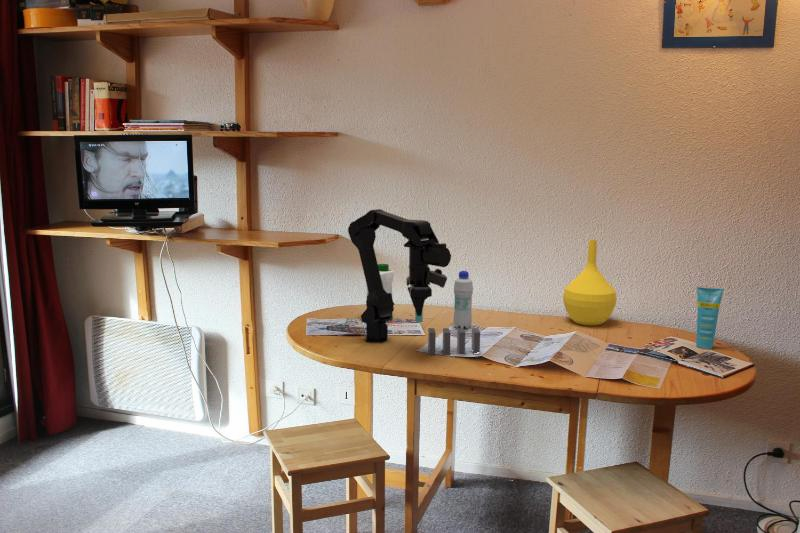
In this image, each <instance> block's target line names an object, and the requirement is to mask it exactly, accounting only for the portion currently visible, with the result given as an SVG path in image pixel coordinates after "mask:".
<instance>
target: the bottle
mask: <svg viewBox="0 0 800 533" xmlns="http://www.w3.org/2000/svg"><path fill="white" fill-rule="evenodd" d="M469 275H470V274H469V271H467V270H461V271H459V272H458V278H455V280H454V284H453V294H454V304H453V305H454V312H453V325H454V327H455V328H456V329H457V328H463V329H464V328H465V329H466V330H467V329H469V328H471V327H472V323H473V320H472V319H473V315H472V307H473V306H472V303H473V302H472V300H473V299H472V298H473V294H474V286H473V279H470V278H469Z"/></svg>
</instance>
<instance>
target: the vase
mask: <svg viewBox="0 0 800 533" xmlns="http://www.w3.org/2000/svg"><path fill="white" fill-rule="evenodd" d="M597 242H598V240H597V239H595V238H594V239H592V238H591V239H588V246H587V247H588V250H587V260H586V261H587V262H586V265H585V267H584V268H583V270H582V271H581V272H580V273H579V274H578V275H577V276H576V277H575V278H574V279H573V280H571V282H570V283H568V284H567V285H566V286H565V288H564V291H563V295H562V301H563V304H564V308H565V311H566V313H567V315H568V317H570V319H571V320H572V321H573V322H574V323H576V324H578V325H583V326H591V327H592V326H600V325H603V323H605V322H607V320H609V318H610V317H611V316H612V314H613V311H614V309H615V308H616V304H617V292H616V289H615V288H614V287H613V286H612V285H611V284H610V283H609V282H608V280H606V278H605V277H604V275H602V273H601V272H600V271H599V269H598V267H597V248H598V246H597Z"/></svg>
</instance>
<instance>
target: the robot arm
mask: <svg viewBox="0 0 800 533" xmlns="http://www.w3.org/2000/svg"><path fill="white" fill-rule="evenodd" d="M381 226H383V227H385V228H388V229H391V230H393V231H397V232H399V233H401V235H402V237H403V238H404V239H407V240H408V241H406V242H405V243H404V244H403V247H404V248H408V249H409V250H408V251H409V252H408V254H409V256H408V261H409V262H408V276H407V277H406V281H405V282H406V286H408V287H407V291H408V294H409V297H410V300H411V302H412V306H413V307H414V309H415V310H416V313H417V316H421V314H422V310H424V304H425V301H426V300H427V299H428V298H430V297H432V296H433V290H432V287H431V286H430V285H431V284H433V285H435V286H438V287H440V288H442V289H444V288H445V286H446V283H447V280H448V277H447V276H446V274H443V271H442V269H440V268H446V267H447V266H448V265H449V264H450V263H451V259H452V254H451V251H450V250H449V248H448V247H447V244H446V243H442V242H441V243H440V241H439V240H438V238H437V236H436V233H435V232H434V230H433V228H432V226H431V223H430V222H429V221H428V220H424V219H423V220H422V219H409V218H405V217H402V216H399V215H396V214H394V213H391V212H388V211H385V210H383V209H380V208H378V209H370V210H369V211H367V213H365V214H364V215H362V216H360V217H359V218H357V219H355V220H354V221H351V222H350V223H349V226H348V227H347V230H348V231H347V232H348V235H349V239H350V240H351V243H352V244H353V245H354V247H355V248H357V250H358V254H359V257H360V261H361V267H362V270H363V275H364V279H365V283H366V289H367V288H368V296H367V295H366V301H365V303H366V304H365V305H366V309H365V310H364V311H363V312H362V313H361V315H360V319H361V322H362V323H364V324H365V325H366V326H365V327H366V328H365V329H366V335H365V337H366V338H365V342H366V343H371V342H374V343H377V342H378V343H379V342H383V343H384V342H385V343H386V342H387V339H388V338H389V336H388V335H389V334H388V332H389V331H388V330H389V326H388V323H387V322H386V320H390V318H391V315H392V314H393V312H394V310H395V308H394V306H395V305H396V304H395V302H394V301H393V293H392V294H391V293H387V292H386V291H385V290H384V288H383V284H382V280H381V276H380V272H379V268H378V264H379V263H378V260H377V255H376V252H375V248H374V247H375V246H374V244H375V240H376V237H377V236H376V235H377V234H376V231H377V230H378V229H379V228H380V227H381ZM430 266H435V267H440V268H436V269H435V270H431V268H430ZM415 310H414V311H415ZM390 321H391V320H390Z"/></svg>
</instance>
